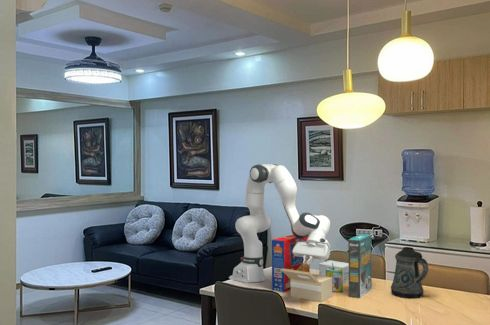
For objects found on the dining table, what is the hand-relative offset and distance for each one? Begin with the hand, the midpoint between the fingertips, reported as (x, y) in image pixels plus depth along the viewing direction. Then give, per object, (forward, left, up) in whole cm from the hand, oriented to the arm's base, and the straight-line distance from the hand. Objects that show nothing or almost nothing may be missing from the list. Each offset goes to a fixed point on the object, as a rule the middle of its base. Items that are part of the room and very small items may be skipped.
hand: (305, 263), depth 248 cm
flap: (0, -2, -8) cm, 8 cm away
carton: (0, +5, -18) cm, 19 cm away
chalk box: (+4, +24, -18) cm, 31 cm away
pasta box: (-20, +18, -18) cm, 32 cm away
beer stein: (+41, +38, -18) cm, 59 cm away
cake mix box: (+18, +27, -18) cm, 37 cm away
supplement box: (-6, +49, -18) cm, 53 cm away
